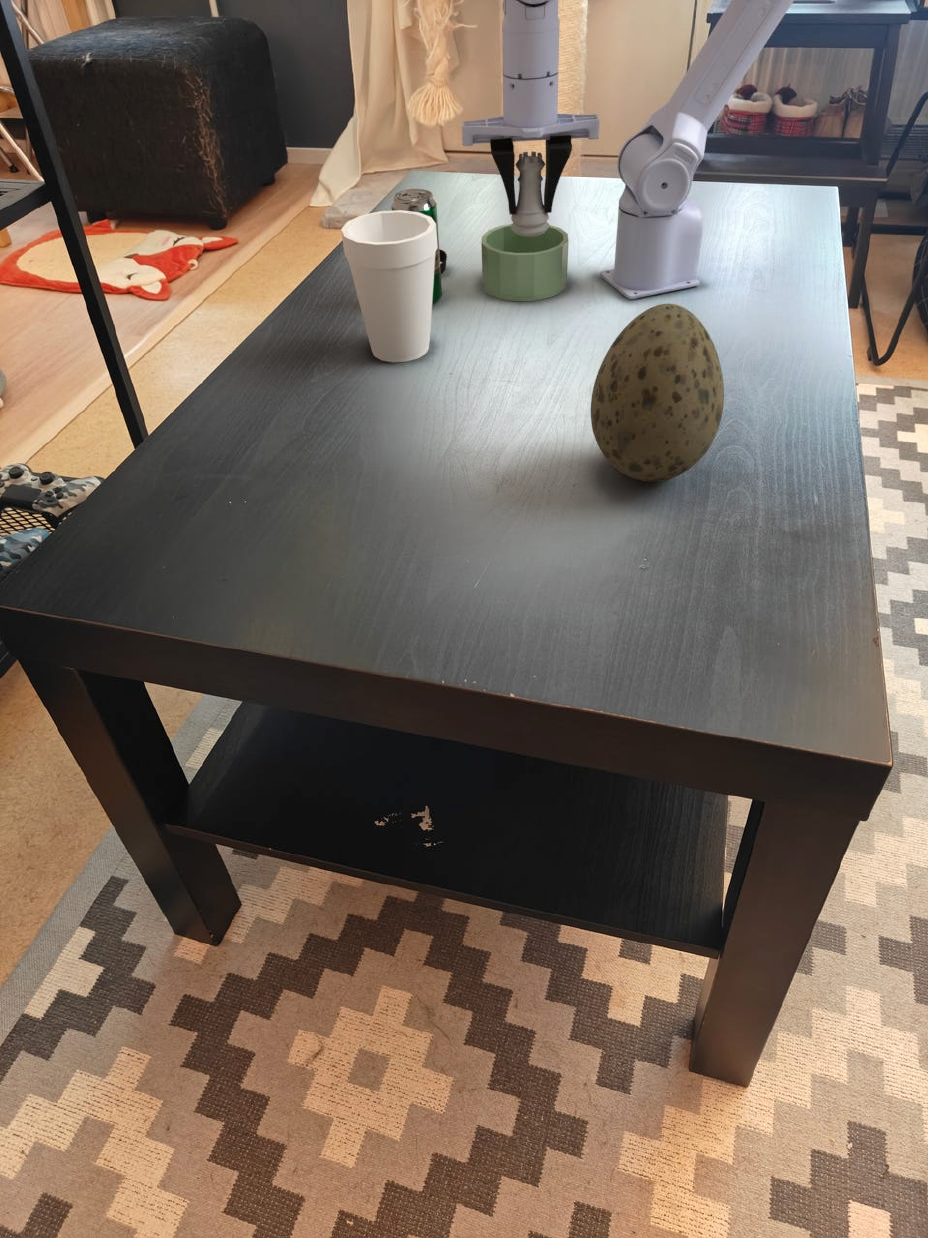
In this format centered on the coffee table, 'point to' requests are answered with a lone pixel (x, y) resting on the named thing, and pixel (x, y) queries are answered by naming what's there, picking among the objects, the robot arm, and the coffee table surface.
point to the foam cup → (393, 279)
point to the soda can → (426, 205)
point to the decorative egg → (658, 395)
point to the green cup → (524, 264)
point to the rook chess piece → (530, 197)
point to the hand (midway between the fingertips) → (529, 210)
